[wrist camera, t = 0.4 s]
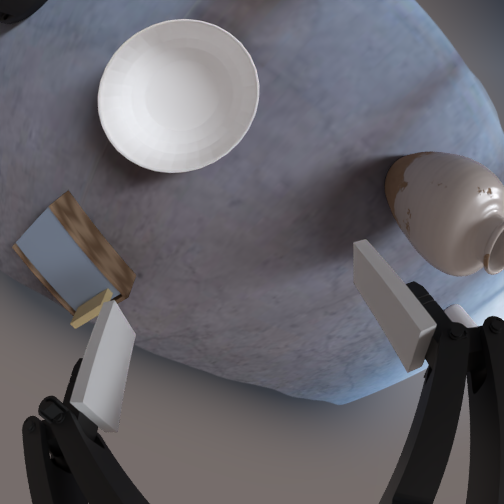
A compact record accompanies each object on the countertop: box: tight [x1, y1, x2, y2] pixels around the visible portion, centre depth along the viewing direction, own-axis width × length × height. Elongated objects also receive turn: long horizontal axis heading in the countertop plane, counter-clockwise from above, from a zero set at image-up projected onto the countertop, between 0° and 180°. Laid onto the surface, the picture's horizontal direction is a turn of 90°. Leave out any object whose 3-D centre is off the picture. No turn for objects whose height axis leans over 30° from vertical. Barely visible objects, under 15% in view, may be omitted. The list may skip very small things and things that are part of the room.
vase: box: [385, 152, 504, 276], centre depth 33 cm, size 16×16×23 cm
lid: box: [16, 207, 121, 329], centre depth 36 cm, size 17×10×5 cm, turn 29°
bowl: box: [98, 19, 259, 173], centre depth 30 cm, size 18×18×7 cm
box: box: [13, 190, 136, 316], centre depth 40 cm, size 18×12×6 cm, turn 29°
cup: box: [444, 304, 478, 328], centre depth 59 cm, size 8×12×10 cm
